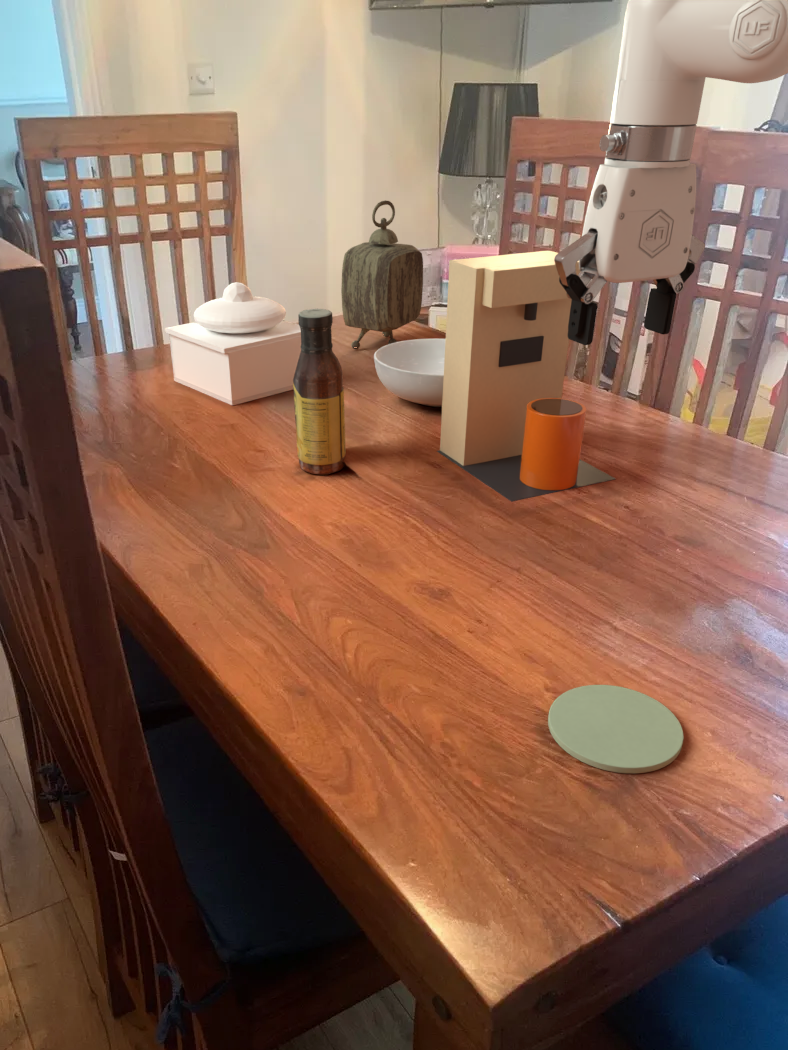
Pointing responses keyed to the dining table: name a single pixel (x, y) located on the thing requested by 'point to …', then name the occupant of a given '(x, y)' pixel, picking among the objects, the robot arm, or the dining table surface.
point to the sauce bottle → (319, 397)
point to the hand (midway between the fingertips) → (618, 336)
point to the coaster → (615, 729)
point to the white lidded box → (236, 348)
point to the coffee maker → (503, 364)
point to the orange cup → (552, 443)
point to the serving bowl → (413, 370)
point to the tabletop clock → (381, 282)
